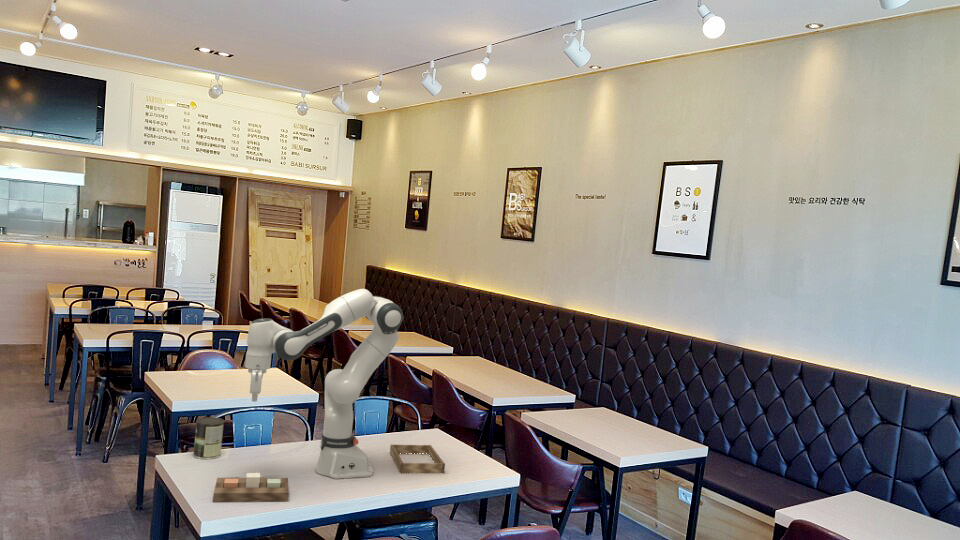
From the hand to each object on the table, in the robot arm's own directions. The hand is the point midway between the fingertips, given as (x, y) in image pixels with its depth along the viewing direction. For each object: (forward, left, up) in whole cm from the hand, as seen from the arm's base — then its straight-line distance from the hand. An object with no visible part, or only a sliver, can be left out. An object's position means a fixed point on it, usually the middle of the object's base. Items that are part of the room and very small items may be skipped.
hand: (254, 400), depth 248 cm
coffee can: (+16, -28, -29) cm, 44 cm away
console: (-2, +14, -29) cm, 32 cm away
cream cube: (-2, +14, -26) cm, 30 cm away
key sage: (-9, +14, -28) cm, 33 cm away
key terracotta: (+5, +14, -28) cm, 32 cm away
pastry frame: (-67, -20, -29) cm, 76 cm away
